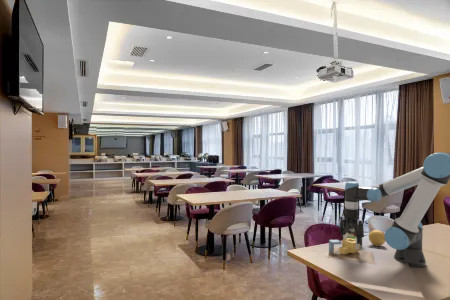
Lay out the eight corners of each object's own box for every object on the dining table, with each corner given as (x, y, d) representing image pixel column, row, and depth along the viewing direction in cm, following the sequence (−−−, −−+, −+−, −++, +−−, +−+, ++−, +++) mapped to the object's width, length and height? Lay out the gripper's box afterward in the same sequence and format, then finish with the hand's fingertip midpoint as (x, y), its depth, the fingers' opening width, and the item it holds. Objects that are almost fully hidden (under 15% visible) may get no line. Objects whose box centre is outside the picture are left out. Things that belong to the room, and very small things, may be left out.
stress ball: (373, 249, 196) (387, 241, 192) (363, 235, 201) (376, 227, 196) (377, 247, 203) (390, 240, 199) (367, 234, 208) (380, 226, 204)
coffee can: (363, 247, 195) (364, 225, 195) (346, 246, 197) (346, 224, 197) (360, 243, 205) (361, 221, 205) (344, 241, 207) (344, 220, 207)
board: (372, 254, 182) (372, 252, 182) (375, 266, 163) (375, 264, 163) (329, 249, 191) (329, 247, 191) (327, 260, 172) (327, 257, 172)
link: (347, 255, 174) (347, 244, 174) (336, 251, 179) (336, 241, 179) (359, 251, 182) (359, 240, 182) (348, 247, 187) (348, 238, 187)
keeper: (338, 250, 184) (338, 239, 184) (341, 253, 180) (341, 242, 180) (328, 250, 184) (328, 239, 184) (331, 253, 179) (331, 242, 179)
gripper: (371, 210, 177) (370, 250, 177) (340, 205, 193) (339, 241, 193) (364, 211, 172) (363, 253, 172) (332, 206, 188) (332, 243, 188)
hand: (350, 247), depth 182 cm, fingers closed on link, 7 cm apart
